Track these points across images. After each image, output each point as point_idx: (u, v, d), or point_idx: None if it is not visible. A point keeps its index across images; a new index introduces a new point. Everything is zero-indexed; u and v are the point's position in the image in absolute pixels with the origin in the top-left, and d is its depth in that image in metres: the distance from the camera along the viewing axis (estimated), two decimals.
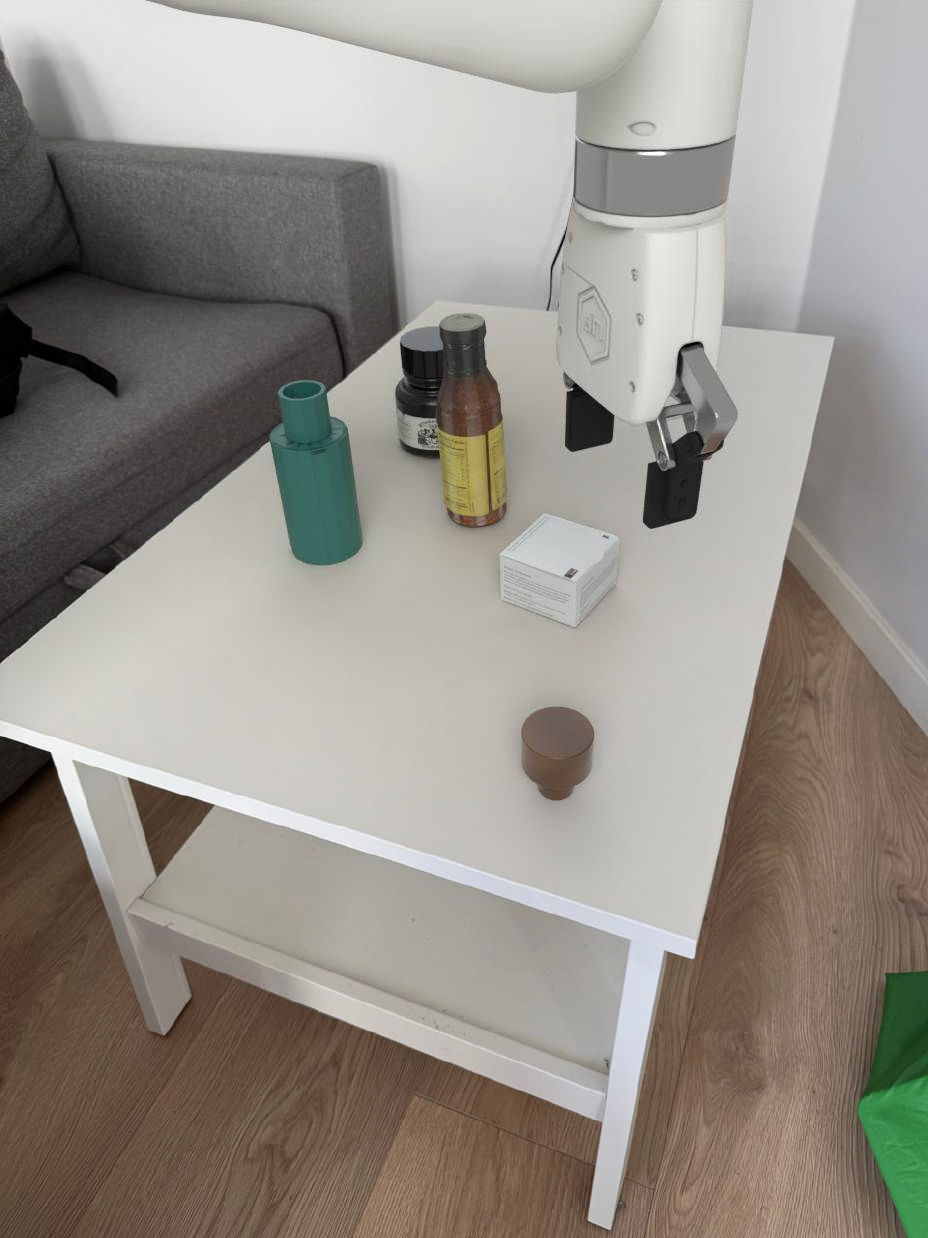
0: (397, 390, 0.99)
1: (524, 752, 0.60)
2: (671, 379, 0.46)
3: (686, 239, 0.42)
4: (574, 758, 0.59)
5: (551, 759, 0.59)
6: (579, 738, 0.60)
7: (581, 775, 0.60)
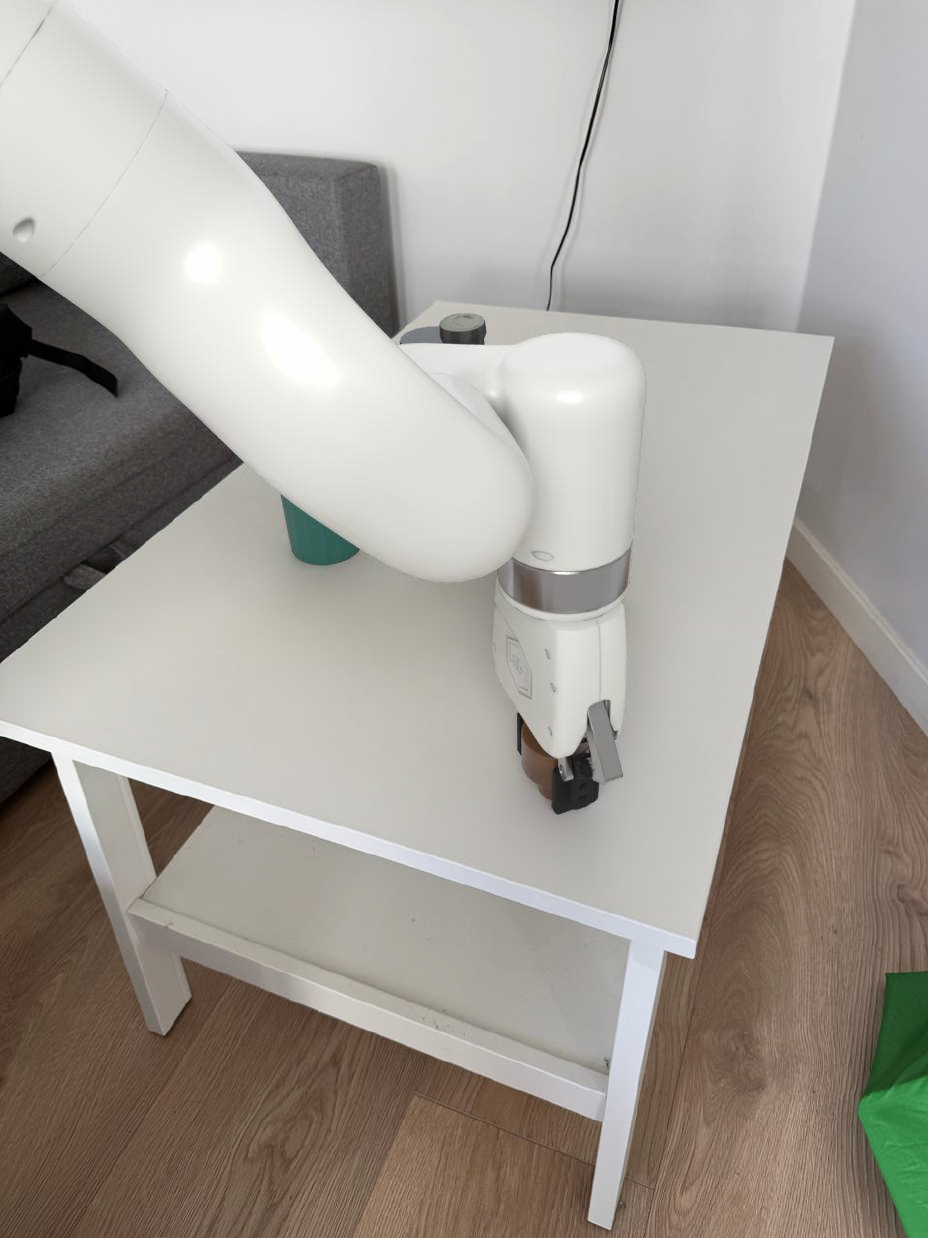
0: None
1: (524, 752, 0.60)
2: (583, 728, 0.53)
3: (589, 634, 0.49)
4: None
5: (551, 759, 0.59)
6: None
7: None
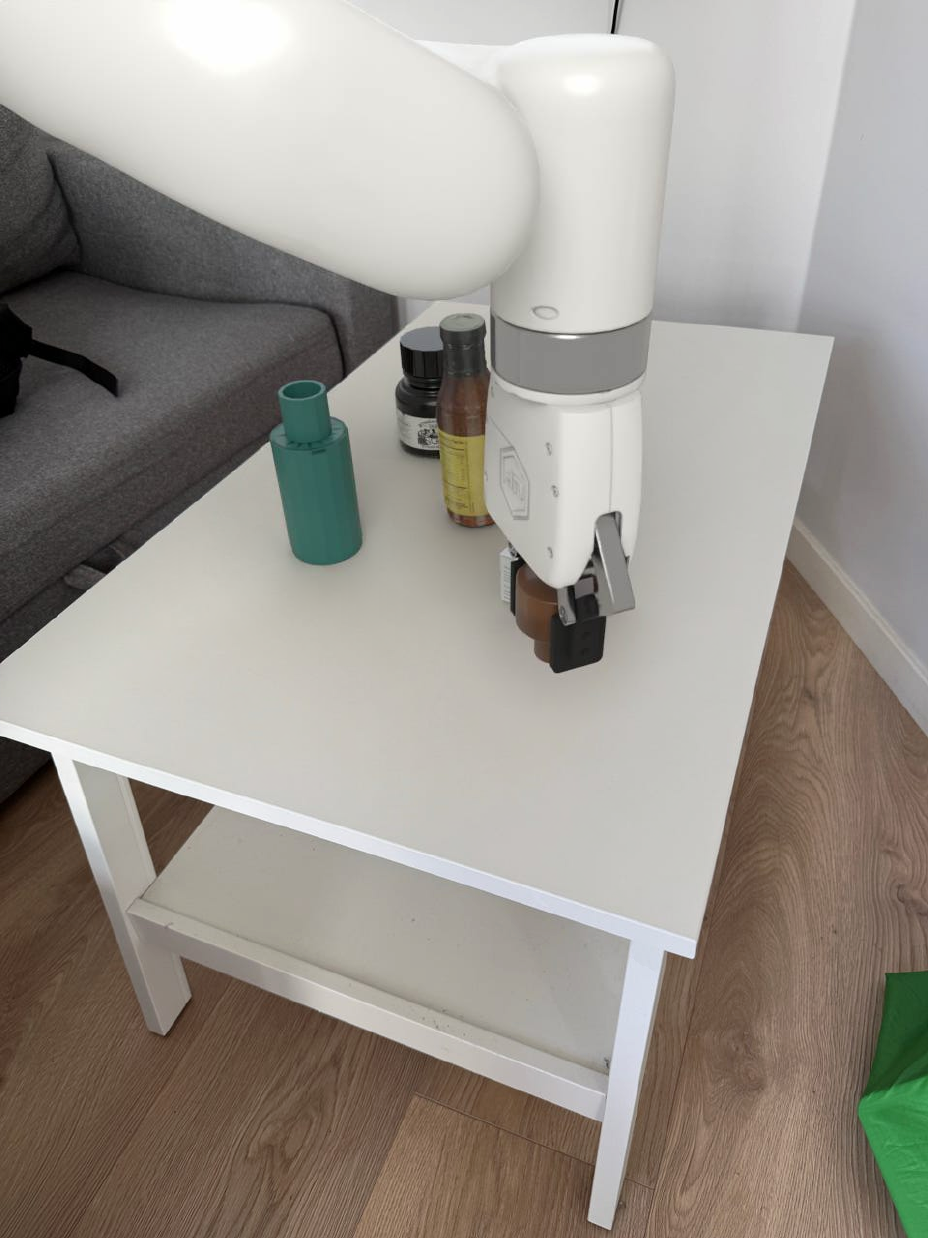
0: (397, 390, 0.99)
1: (519, 601, 0.52)
2: (589, 547, 0.45)
3: (599, 418, 0.41)
4: None
5: (550, 605, 0.51)
6: (583, 584, 0.52)
7: None
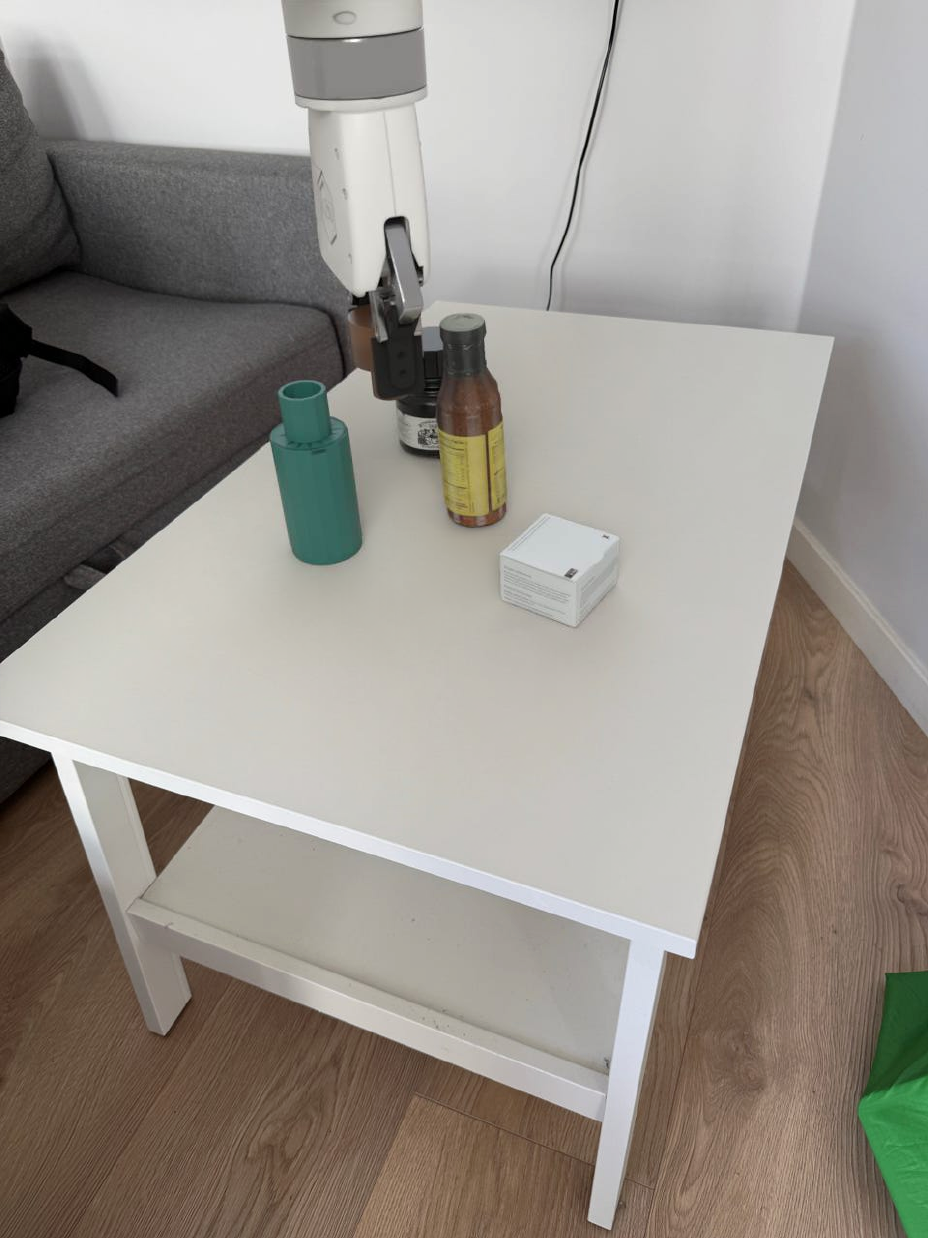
0: None
1: (350, 334, 0.60)
2: (382, 251, 0.52)
3: (373, 119, 0.48)
4: None
5: (371, 330, 0.58)
6: None
7: None
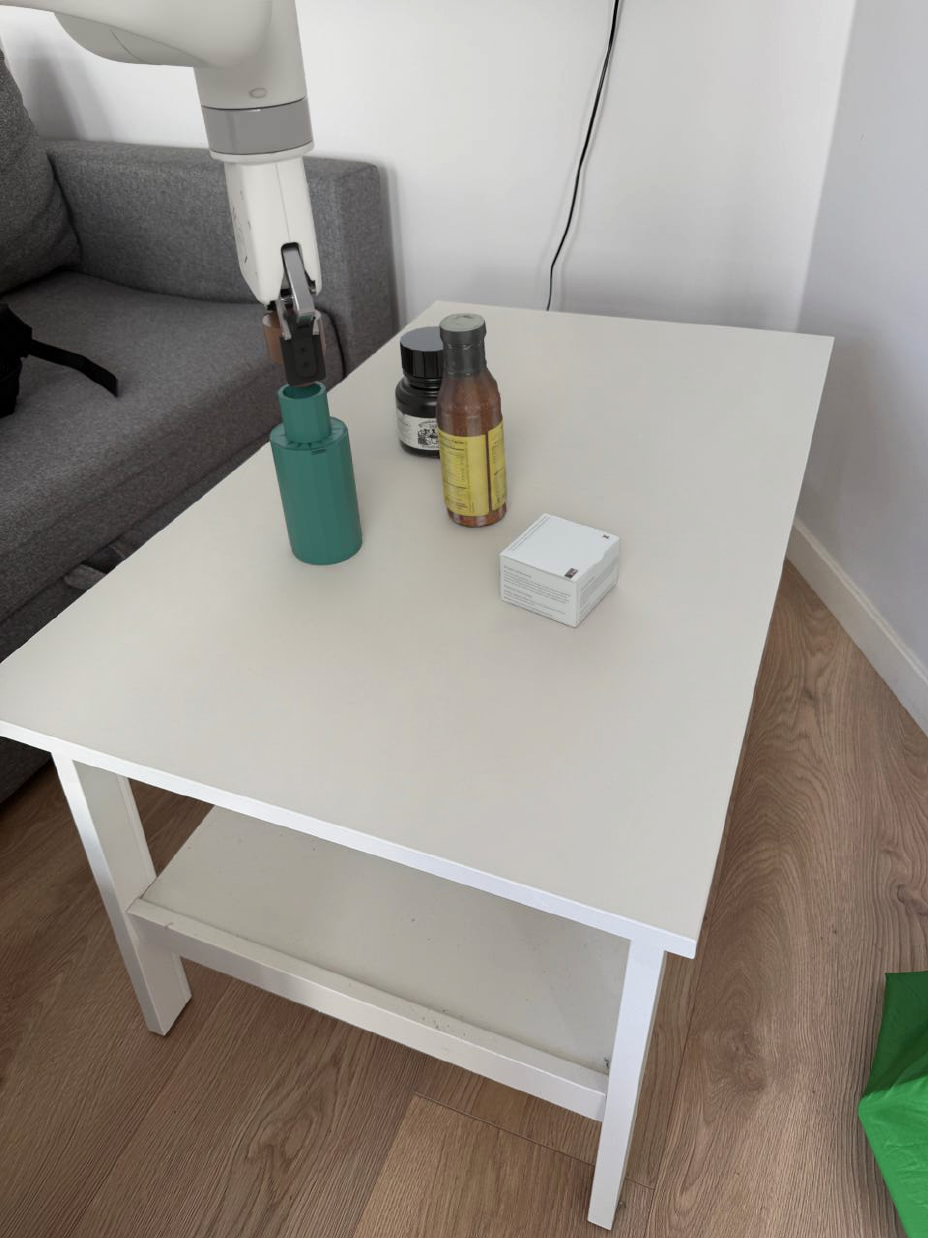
0: (397, 390, 0.99)
1: (264, 334, 0.74)
2: (280, 269, 0.67)
3: (267, 169, 0.63)
4: None
5: (280, 330, 0.73)
6: None
7: None
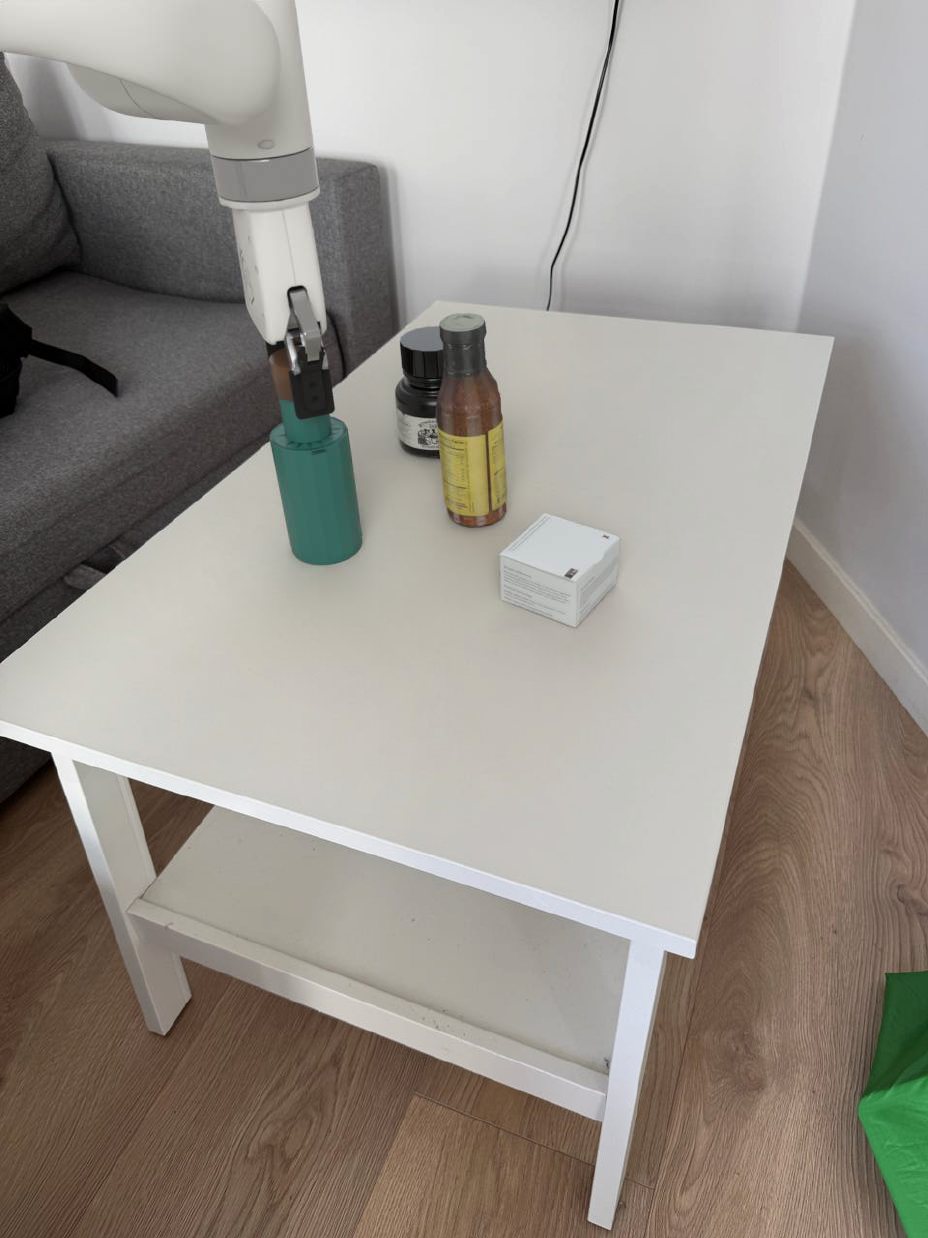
0: (397, 390, 0.99)
1: (271, 372, 0.76)
2: (287, 311, 0.69)
3: (275, 216, 0.65)
4: None
5: (286, 369, 0.75)
6: None
7: None
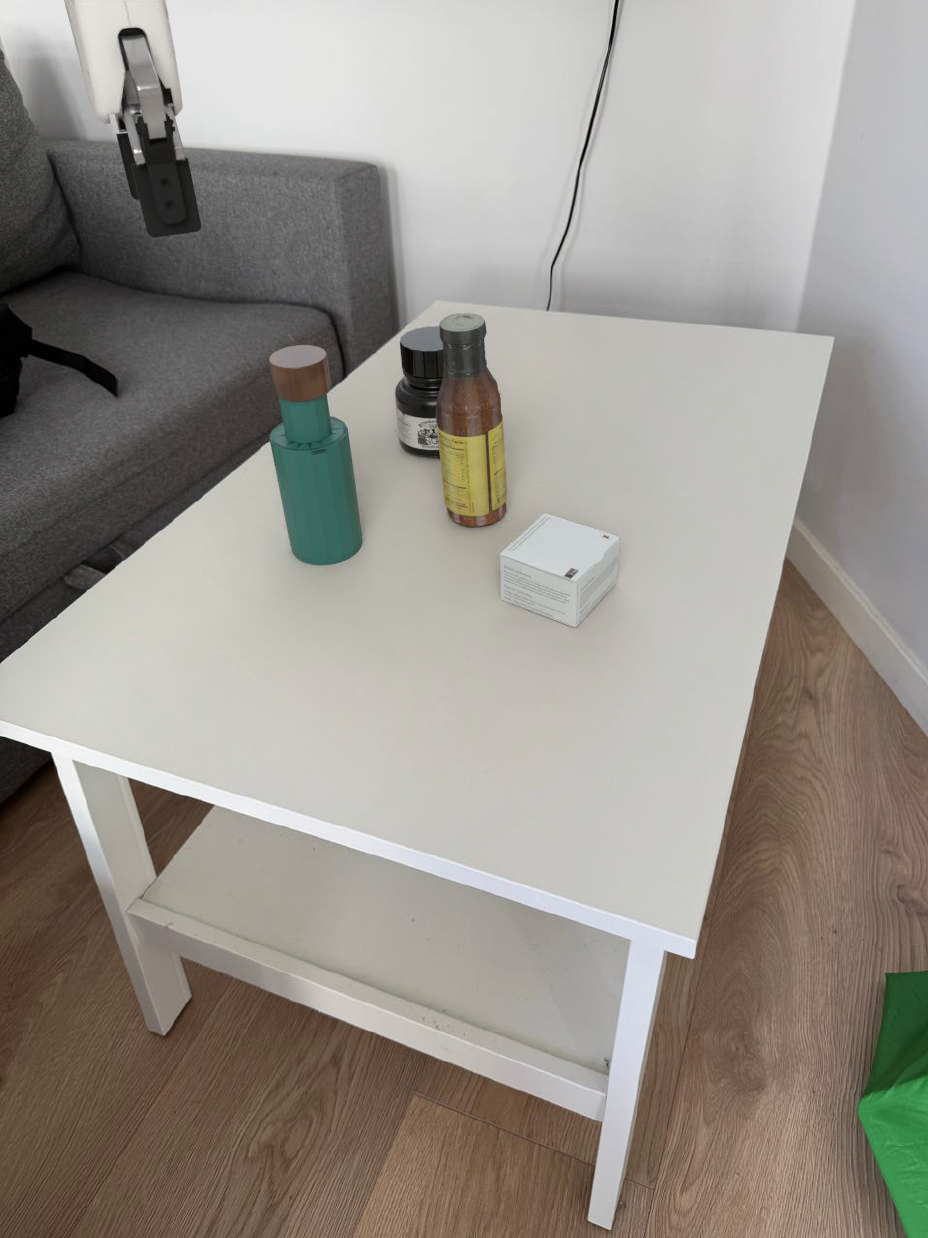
0: (397, 390, 0.99)
1: (271, 372, 0.76)
2: (120, 66, 0.50)
3: None
4: (304, 369, 0.75)
5: (286, 369, 0.75)
6: (313, 358, 0.76)
7: (316, 390, 0.76)
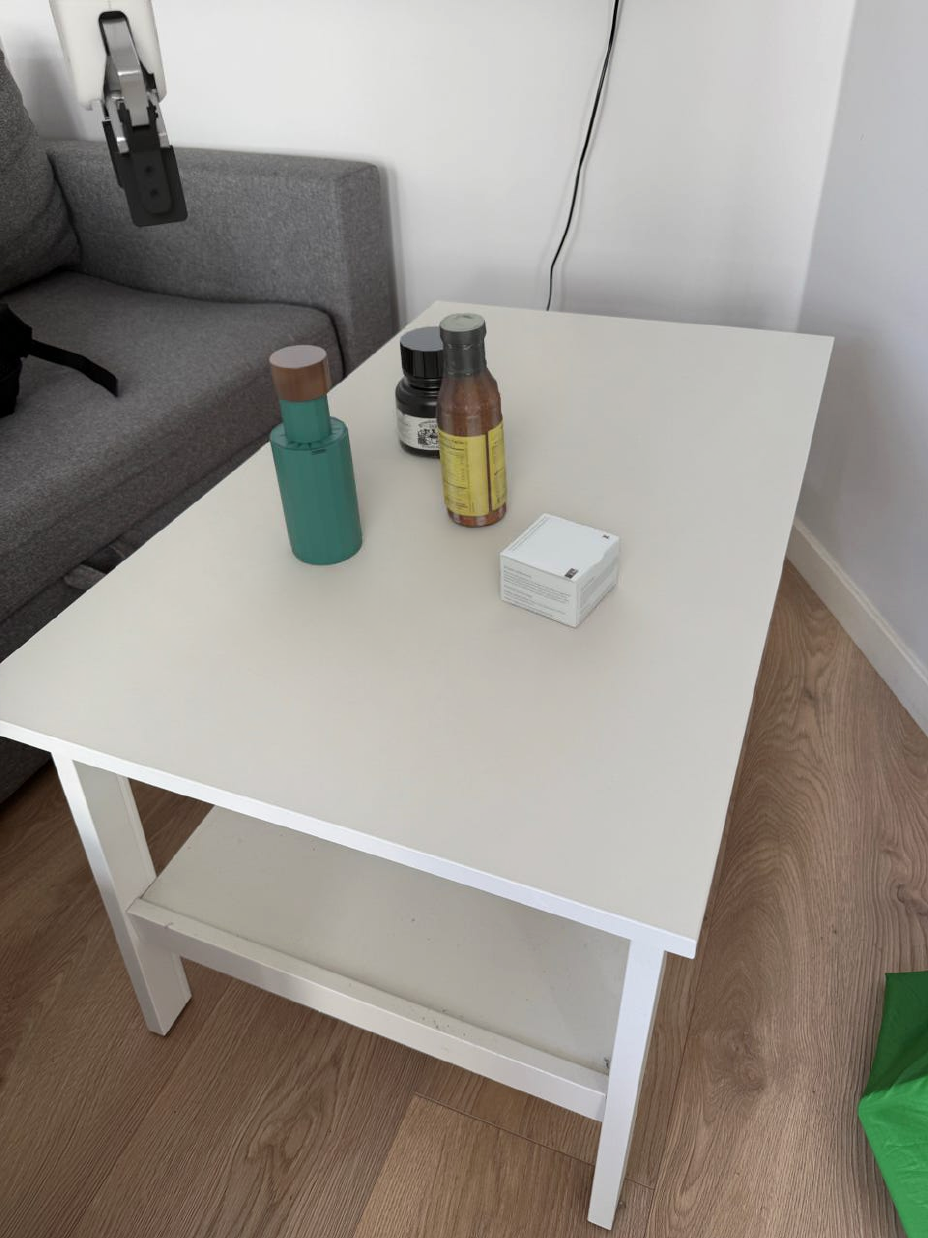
0: (397, 390, 0.99)
1: (271, 372, 0.76)
2: (101, 51, 0.48)
3: None
4: (304, 369, 0.75)
5: (286, 369, 0.75)
6: (313, 358, 0.76)
7: (316, 390, 0.76)
